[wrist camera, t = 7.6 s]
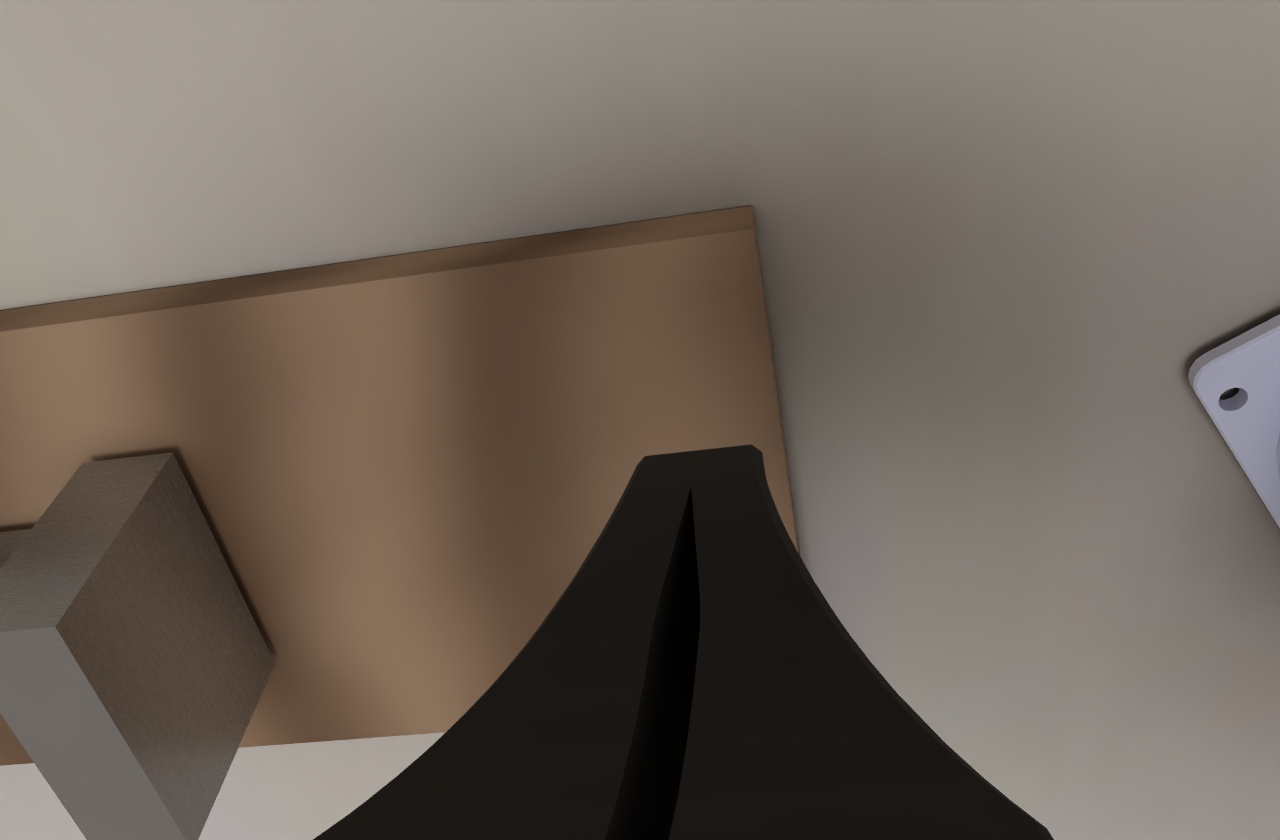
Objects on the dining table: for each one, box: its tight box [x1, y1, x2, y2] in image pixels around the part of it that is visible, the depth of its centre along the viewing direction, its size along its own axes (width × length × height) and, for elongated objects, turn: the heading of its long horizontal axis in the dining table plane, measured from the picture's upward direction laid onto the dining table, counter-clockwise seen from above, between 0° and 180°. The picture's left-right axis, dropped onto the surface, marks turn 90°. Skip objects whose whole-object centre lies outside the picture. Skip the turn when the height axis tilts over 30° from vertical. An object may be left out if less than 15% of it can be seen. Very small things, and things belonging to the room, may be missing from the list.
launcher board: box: [0, 206, 800, 765], centre depth 26 cm, size 23×12×1 cm, turn 100°
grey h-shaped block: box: [0, 452, 275, 840], centre depth 24 cm, size 8×6×5 cm
